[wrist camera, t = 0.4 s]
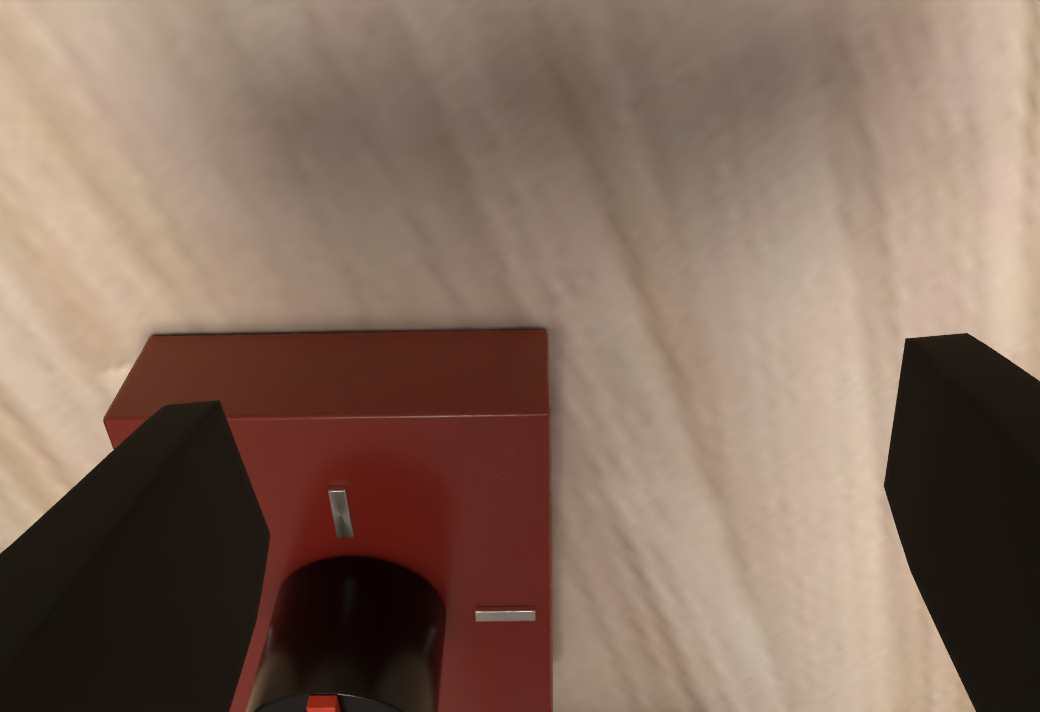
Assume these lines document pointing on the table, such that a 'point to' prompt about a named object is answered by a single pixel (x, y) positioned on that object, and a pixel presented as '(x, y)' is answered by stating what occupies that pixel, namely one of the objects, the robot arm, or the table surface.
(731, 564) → the table surface
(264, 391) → the dial panel
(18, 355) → the table surface
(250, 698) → the dial
